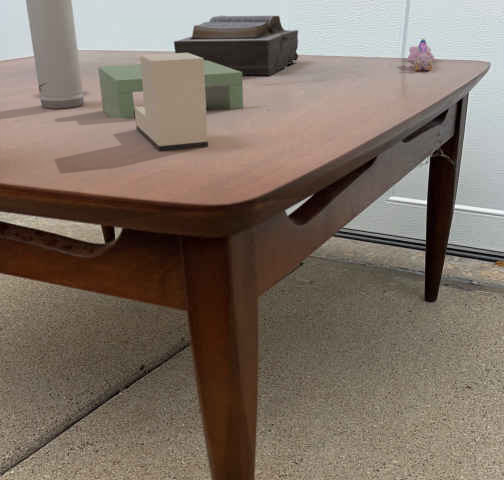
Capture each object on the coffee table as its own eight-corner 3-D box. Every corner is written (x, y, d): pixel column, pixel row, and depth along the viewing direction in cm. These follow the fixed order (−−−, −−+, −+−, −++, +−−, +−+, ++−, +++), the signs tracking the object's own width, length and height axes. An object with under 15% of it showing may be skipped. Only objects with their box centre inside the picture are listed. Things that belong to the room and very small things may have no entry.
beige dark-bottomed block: (160, 166, 68) (152, 60, 64) (137, 142, 79) (129, 50, 74) (208, 161, 70) (203, 57, 66) (180, 138, 80) (174, 47, 76)
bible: (318, 62, 148) (319, 13, 144) (261, 78, 127) (260, 21, 123) (224, 59, 158) (222, 13, 154) (156, 73, 137) (152, 20, 133)
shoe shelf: (121, 130, 85) (116, 80, 83) (102, 110, 99) (98, 66, 97) (243, 120, 90) (242, 72, 88) (209, 102, 104) (207, 60, 101)
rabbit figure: (439, 79, 130) (433, 57, 142) (443, 47, 127) (436, 27, 139) (405, 79, 131) (402, 57, 143) (408, 47, 128) (404, 27, 140)
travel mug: (35, 109, 101) (11, -43, 92) (48, 102, 107) (28, -42, 98) (77, 109, 101) (57, -44, 92) (88, 101, 107) (71, -43, 98)
